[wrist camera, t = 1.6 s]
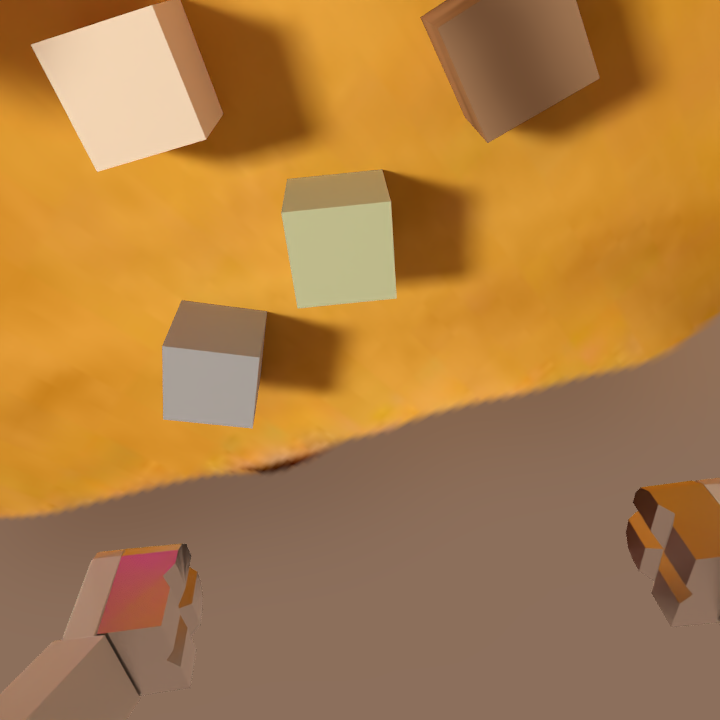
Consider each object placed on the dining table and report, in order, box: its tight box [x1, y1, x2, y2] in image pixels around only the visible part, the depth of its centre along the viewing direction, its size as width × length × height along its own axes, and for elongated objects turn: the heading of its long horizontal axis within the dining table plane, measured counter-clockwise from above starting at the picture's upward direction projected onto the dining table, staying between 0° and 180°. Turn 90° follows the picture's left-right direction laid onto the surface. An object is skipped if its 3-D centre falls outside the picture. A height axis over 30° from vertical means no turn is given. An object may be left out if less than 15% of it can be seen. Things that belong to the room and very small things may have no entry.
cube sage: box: [281, 169, 397, 308], centre depth 30 cm, size 5×5×5 cm
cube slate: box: [162, 300, 267, 428], centre depth 34 cm, size 5×5×5 cm
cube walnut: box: [421, 0, 600, 143], centre depth 25 cm, size 5×5×5 cm
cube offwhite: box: [31, 0, 223, 172], centre depth 25 cm, size 5×5×5 cm
